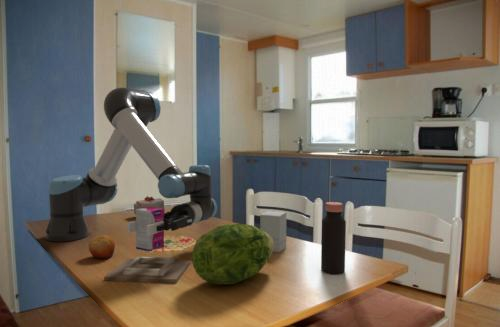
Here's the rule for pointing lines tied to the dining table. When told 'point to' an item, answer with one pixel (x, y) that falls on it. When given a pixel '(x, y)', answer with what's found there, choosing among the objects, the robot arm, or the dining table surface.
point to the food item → (149, 203)
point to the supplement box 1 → (142, 220)
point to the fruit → (102, 246)
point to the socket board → (149, 270)
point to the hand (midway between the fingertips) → (137, 229)
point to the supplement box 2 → (275, 228)
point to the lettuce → (231, 253)
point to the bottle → (333, 239)
